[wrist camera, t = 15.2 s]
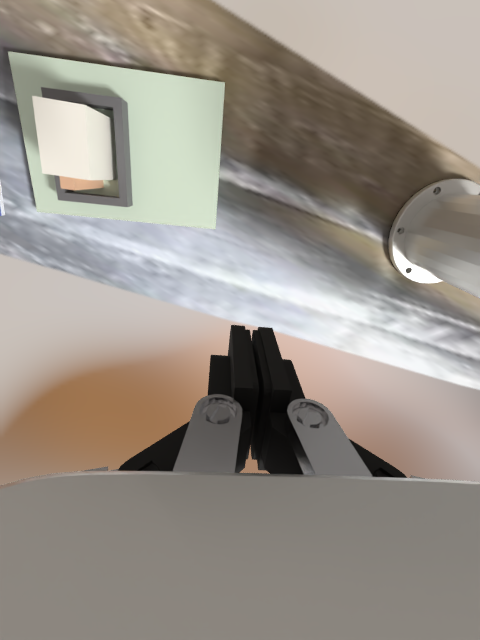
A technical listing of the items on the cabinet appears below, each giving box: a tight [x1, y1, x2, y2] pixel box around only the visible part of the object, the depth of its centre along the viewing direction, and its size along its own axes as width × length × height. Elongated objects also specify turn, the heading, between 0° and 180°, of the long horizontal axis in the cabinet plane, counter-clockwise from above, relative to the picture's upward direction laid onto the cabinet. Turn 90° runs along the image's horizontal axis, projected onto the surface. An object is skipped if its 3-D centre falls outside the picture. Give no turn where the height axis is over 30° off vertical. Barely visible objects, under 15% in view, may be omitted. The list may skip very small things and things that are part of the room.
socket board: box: [8, 51, 225, 229], centre depth 31 cm, size 20×14×3 cm
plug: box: [32, 96, 117, 190], centre depth 28 cm, size 4×6×7 cm, turn 172°
